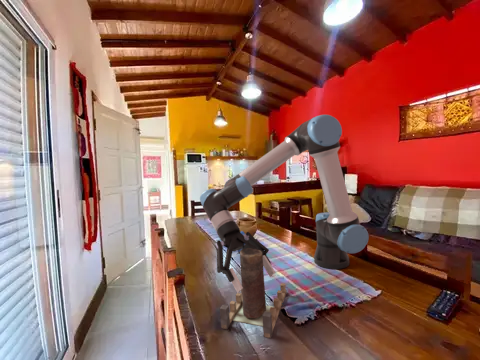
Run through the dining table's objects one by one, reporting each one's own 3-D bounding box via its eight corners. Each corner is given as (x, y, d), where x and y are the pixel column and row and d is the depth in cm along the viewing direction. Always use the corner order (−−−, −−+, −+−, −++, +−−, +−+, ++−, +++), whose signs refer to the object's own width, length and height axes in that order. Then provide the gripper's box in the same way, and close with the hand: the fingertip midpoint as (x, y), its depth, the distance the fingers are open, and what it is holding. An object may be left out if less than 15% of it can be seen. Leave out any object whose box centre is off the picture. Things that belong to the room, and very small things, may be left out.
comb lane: (287, 292, 88) (286, 276, 88) (270, 338, 66) (269, 316, 65) (248, 287, 94) (247, 272, 93) (221, 328, 71) (219, 308, 71)
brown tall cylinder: (252, 303, 82) (248, 245, 81) (271, 310, 78) (267, 249, 77) (238, 315, 76) (233, 253, 75) (257, 323, 72) (253, 257, 71)
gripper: (248, 225, 95) (279, 274, 84) (190, 241, 80) (219, 303, 69) (256, 213, 91) (290, 263, 80) (197, 227, 75) (229, 292, 65)
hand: (257, 282), depth 74 cm, fingers open, 13 cm apart
